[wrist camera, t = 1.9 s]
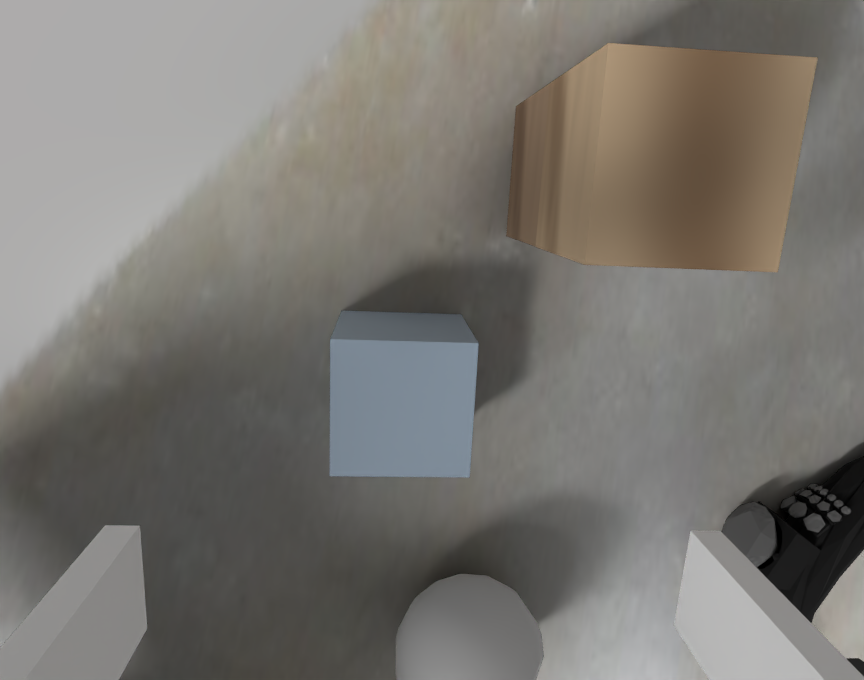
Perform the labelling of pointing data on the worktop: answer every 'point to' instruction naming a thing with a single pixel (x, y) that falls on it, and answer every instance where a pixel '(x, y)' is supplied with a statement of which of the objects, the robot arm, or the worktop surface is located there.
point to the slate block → (402, 394)
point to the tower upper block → (673, 157)
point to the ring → (805, 537)
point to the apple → (468, 633)
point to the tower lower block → (527, 167)
